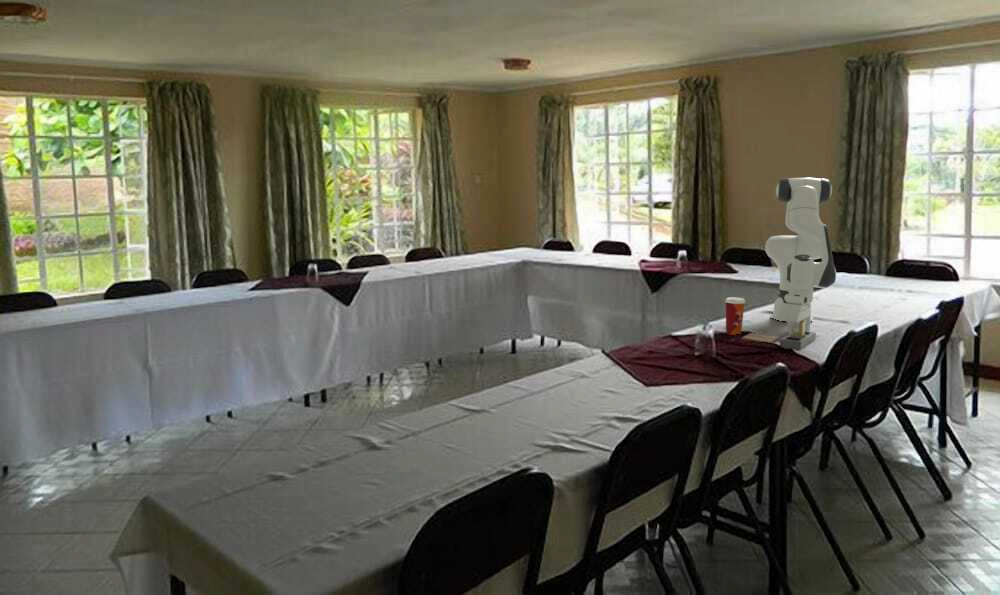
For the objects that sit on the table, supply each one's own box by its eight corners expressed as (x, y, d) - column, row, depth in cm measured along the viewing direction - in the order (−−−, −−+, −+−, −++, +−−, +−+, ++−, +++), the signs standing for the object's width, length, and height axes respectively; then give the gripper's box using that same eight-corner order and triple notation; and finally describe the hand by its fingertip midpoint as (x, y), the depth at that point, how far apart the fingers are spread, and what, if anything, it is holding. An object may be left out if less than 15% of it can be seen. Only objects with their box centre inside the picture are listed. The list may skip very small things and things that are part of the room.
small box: (805, 332, 329) (807, 308, 328) (809, 335, 324) (811, 310, 322) (786, 332, 330) (787, 307, 328) (789, 335, 325) (791, 310, 323)
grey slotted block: (795, 337, 320) (795, 330, 319) (815, 339, 315) (815, 332, 315) (779, 346, 302) (779, 339, 302) (800, 349, 298) (801, 342, 297)
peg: (793, 341, 312) (795, 319, 310) (804, 343, 309) (805, 320, 308) (791, 343, 308) (792, 321, 307) (801, 344, 306) (803, 322, 305)
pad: (750, 335, 324) (751, 332, 323) (780, 338, 317) (780, 336, 316) (741, 340, 314) (741, 337, 314) (771, 344, 307) (771, 341, 307)
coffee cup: (739, 336, 321) (741, 300, 319) (720, 334, 326) (722, 298, 324) (746, 333, 328) (748, 298, 325) (727, 330, 333) (729, 296, 330)
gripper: (799, 292, 316) (797, 325, 318) (785, 298, 300) (783, 333, 302) (815, 293, 312) (813, 327, 315) (802, 300, 296) (799, 335, 298)
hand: (798, 330), depth 308 cm, fingers closed on peg, 4 cm apart
